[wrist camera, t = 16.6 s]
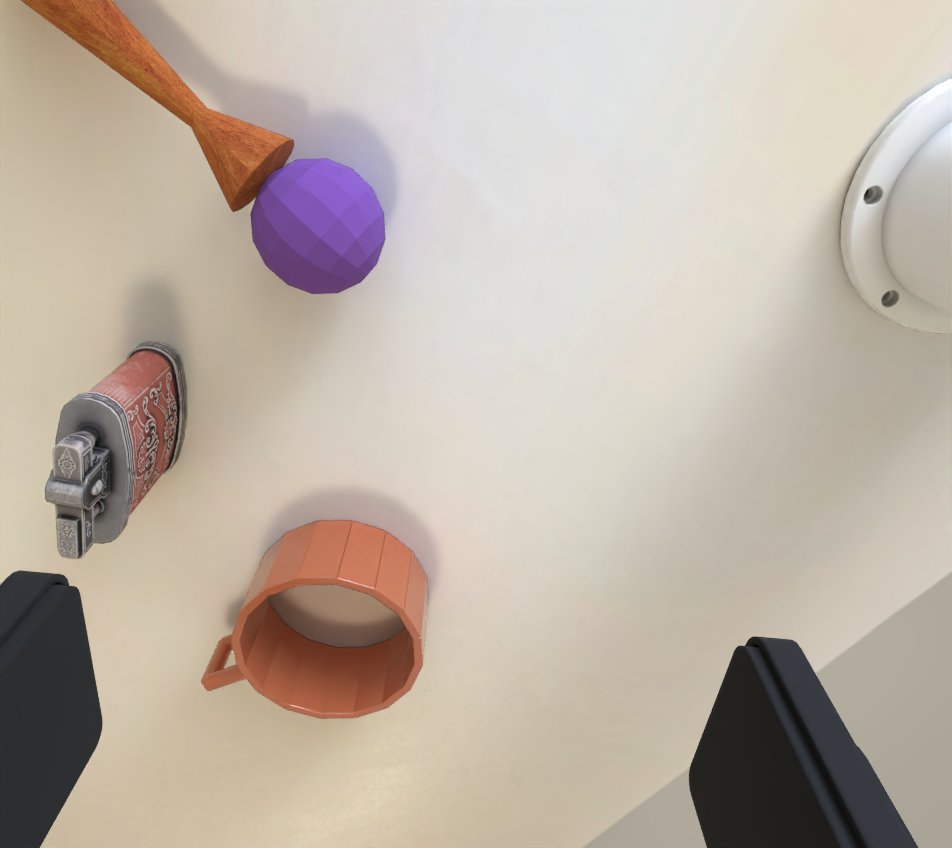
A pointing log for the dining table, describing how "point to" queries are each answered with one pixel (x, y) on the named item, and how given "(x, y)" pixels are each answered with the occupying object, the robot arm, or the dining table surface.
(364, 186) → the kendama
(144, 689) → the dining table surface
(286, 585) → the mug
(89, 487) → the lighter
